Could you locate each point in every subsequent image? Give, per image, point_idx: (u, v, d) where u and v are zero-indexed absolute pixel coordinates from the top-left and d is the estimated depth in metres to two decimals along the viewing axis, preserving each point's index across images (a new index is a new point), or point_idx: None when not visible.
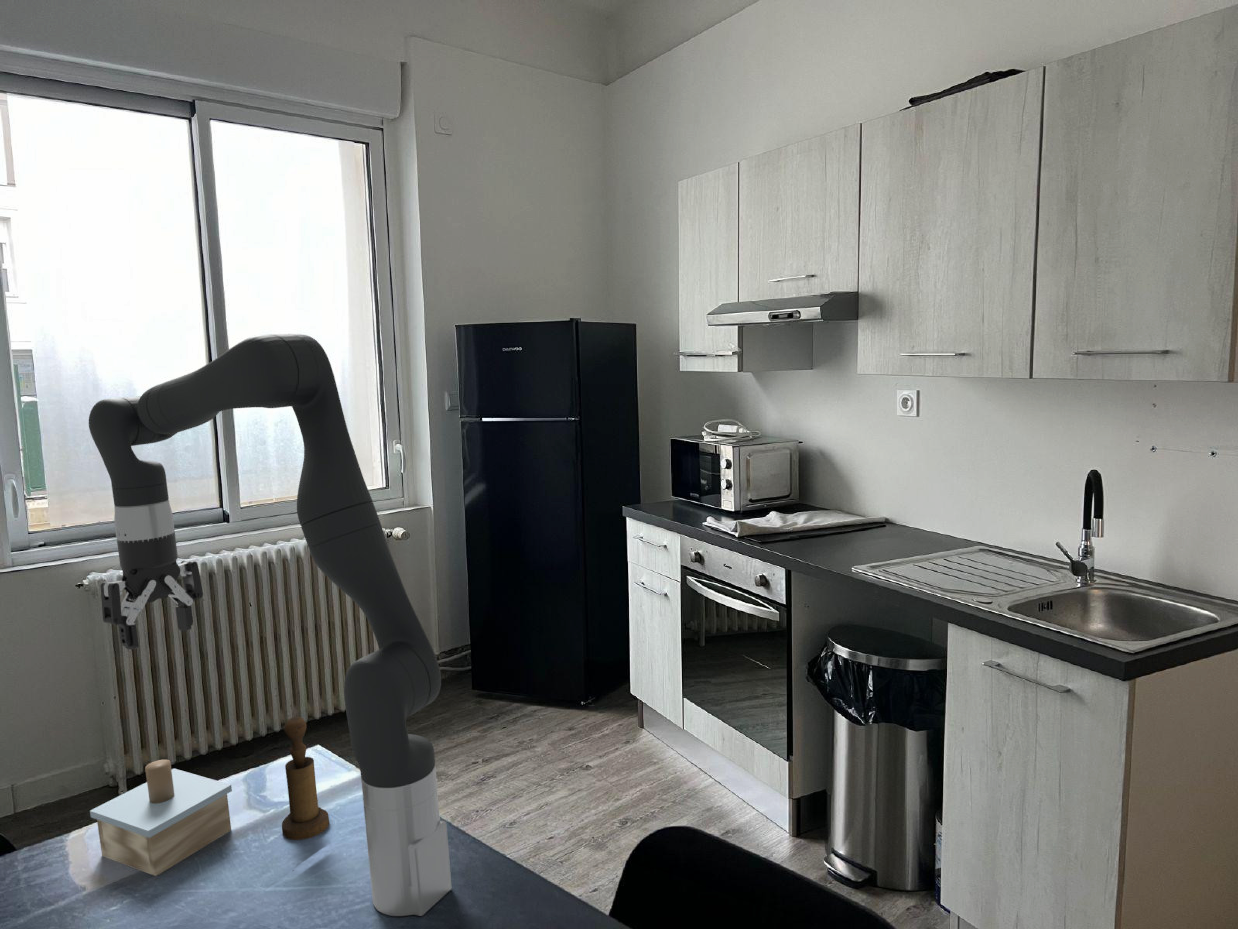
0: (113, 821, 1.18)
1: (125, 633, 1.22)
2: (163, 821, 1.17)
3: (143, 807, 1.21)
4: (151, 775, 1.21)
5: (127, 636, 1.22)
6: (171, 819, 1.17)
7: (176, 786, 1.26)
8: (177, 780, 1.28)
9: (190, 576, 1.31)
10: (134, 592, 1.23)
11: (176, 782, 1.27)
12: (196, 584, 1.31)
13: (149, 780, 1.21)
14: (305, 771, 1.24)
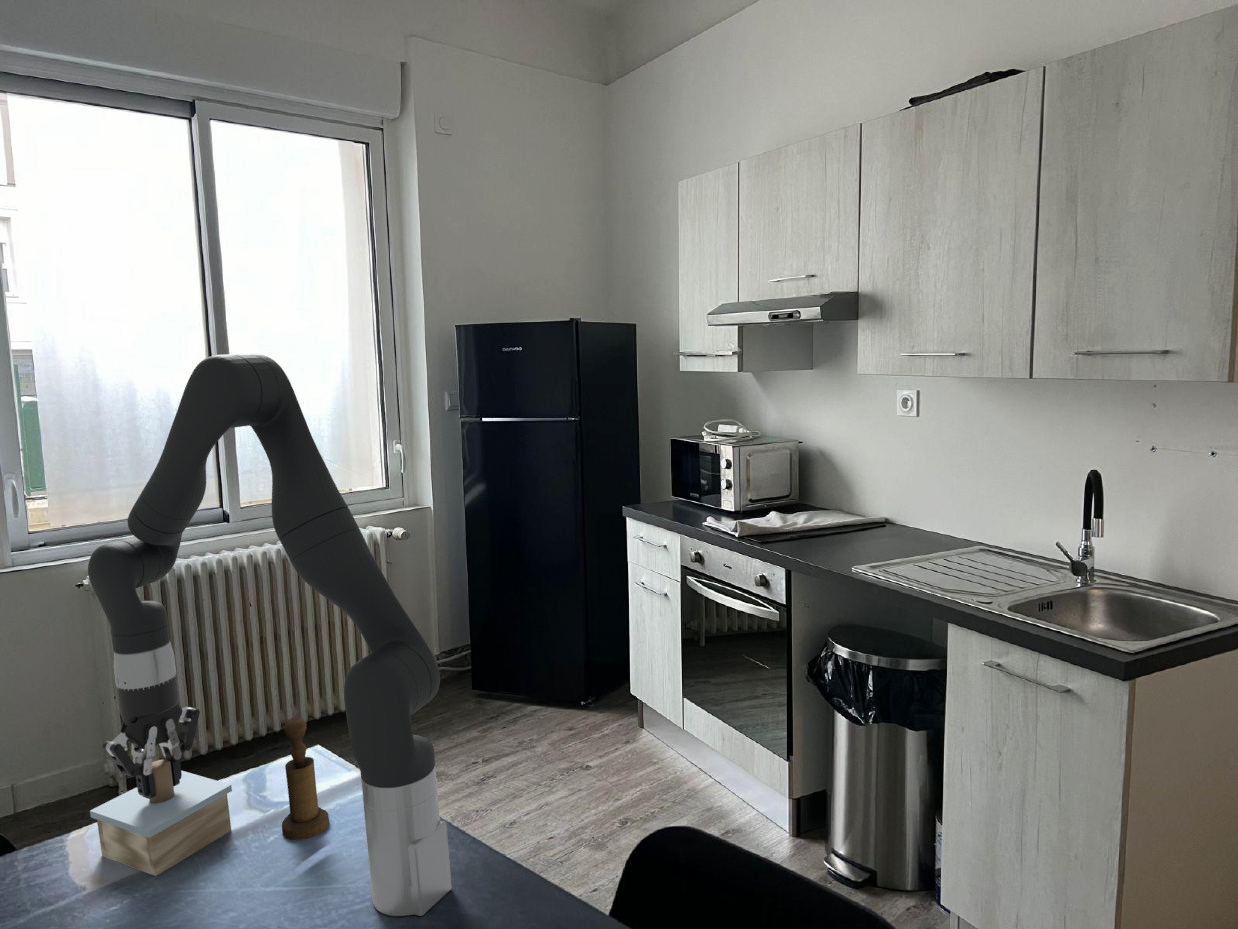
0: (113, 821, 1.18)
1: (142, 783, 1.20)
2: (163, 821, 1.17)
3: (143, 807, 1.21)
4: None
5: (144, 786, 1.20)
6: (171, 819, 1.17)
7: (176, 786, 1.26)
8: None
9: (187, 724, 1.26)
10: (139, 745, 1.19)
11: None
12: (190, 734, 1.25)
13: None
14: (305, 771, 1.24)
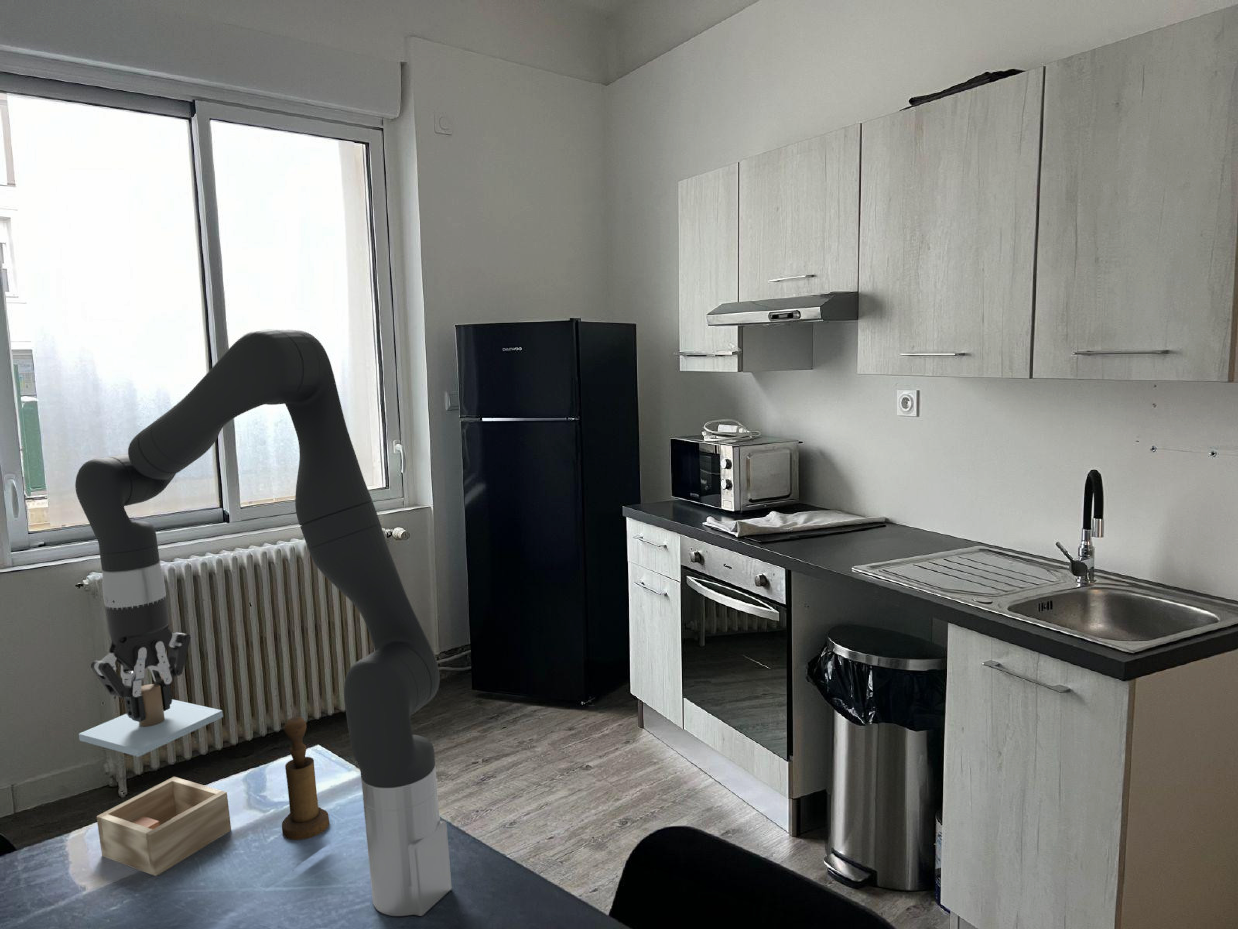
0: (102, 742, 1.16)
1: (132, 705, 1.18)
2: (152, 741, 1.15)
3: (133, 730, 1.19)
4: None
5: (134, 708, 1.18)
6: (161, 740, 1.16)
7: (166, 712, 1.24)
8: None
9: (178, 649, 1.24)
10: (128, 665, 1.17)
11: None
12: (180, 659, 1.24)
13: None
14: (305, 771, 1.24)
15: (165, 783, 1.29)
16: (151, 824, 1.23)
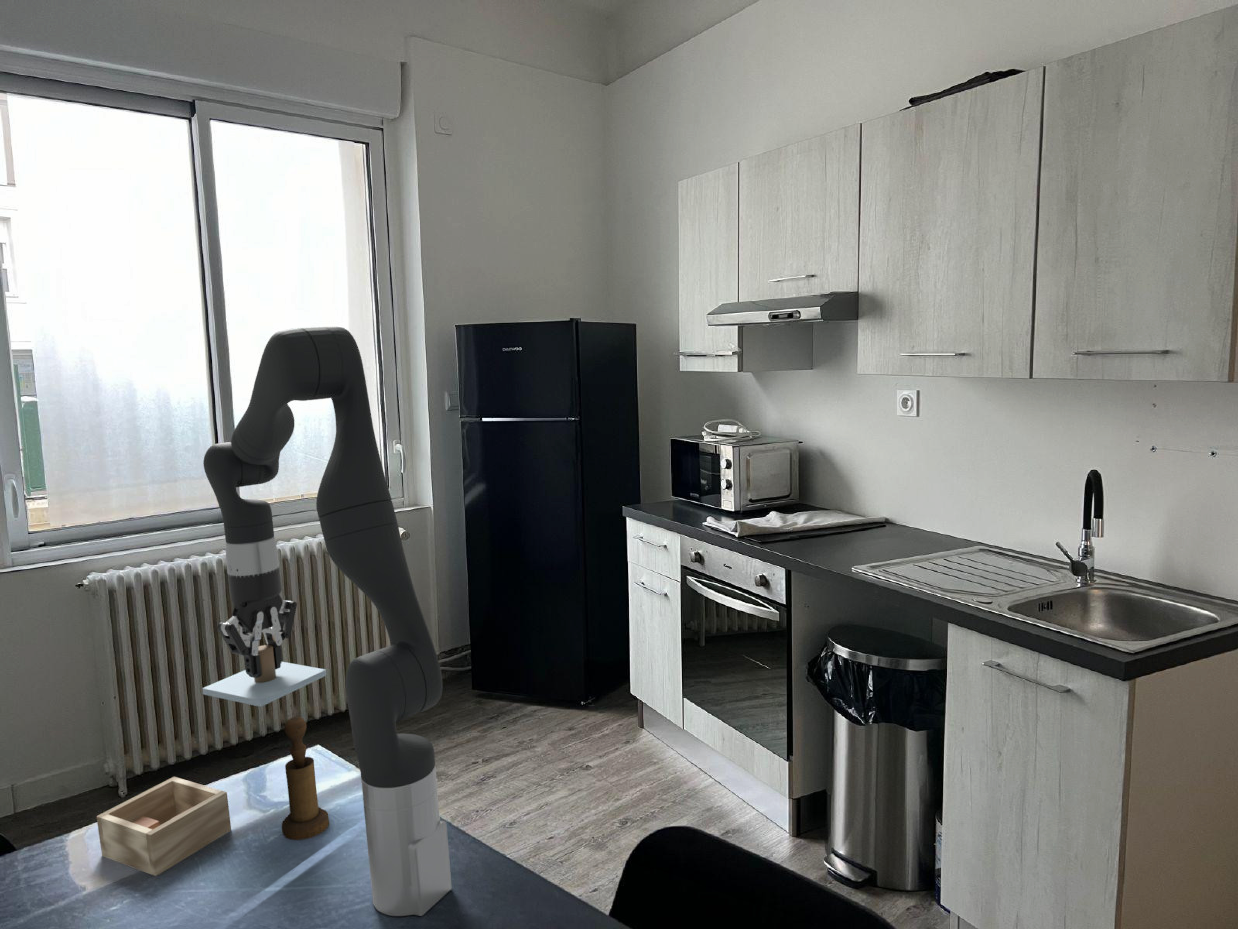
0: (225, 695, 1.31)
1: (250, 663, 1.33)
2: (271, 694, 1.30)
3: (250, 685, 1.34)
4: None
5: (252, 666, 1.33)
6: (278, 693, 1.31)
7: (276, 671, 1.39)
8: None
9: (286, 614, 1.39)
10: (248, 627, 1.32)
11: None
12: (289, 623, 1.39)
13: None
14: (305, 771, 1.24)
15: (165, 783, 1.29)
16: (151, 824, 1.23)
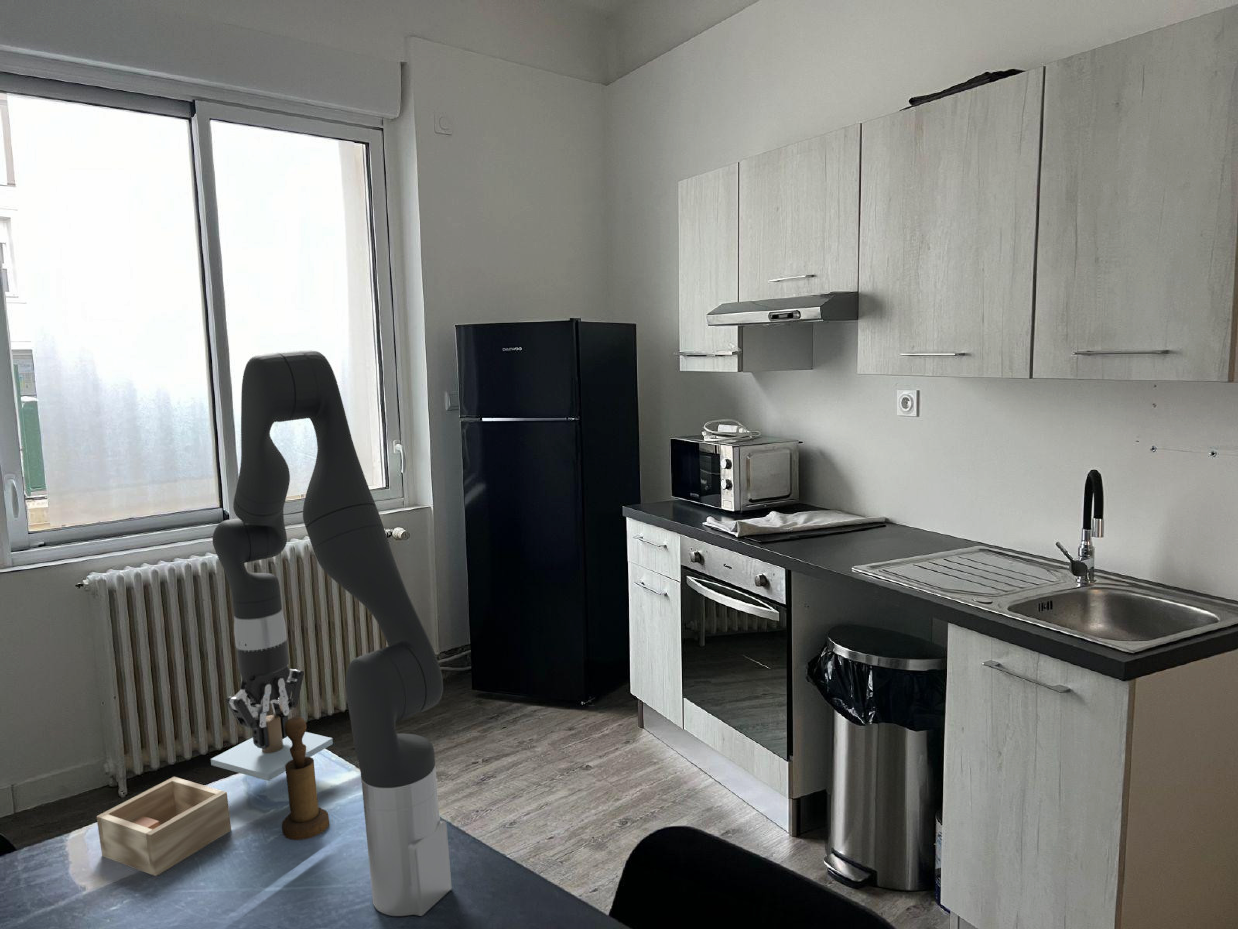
0: (233, 767, 1.33)
1: (258, 735, 1.35)
2: (279, 767, 1.32)
3: (258, 756, 1.35)
4: None
5: (260, 737, 1.35)
6: None
7: (283, 739, 1.41)
8: None
9: (294, 684, 1.41)
10: (256, 700, 1.34)
11: None
12: (296, 693, 1.40)
13: None
14: (305, 771, 1.24)
15: (165, 783, 1.29)
16: (151, 824, 1.23)
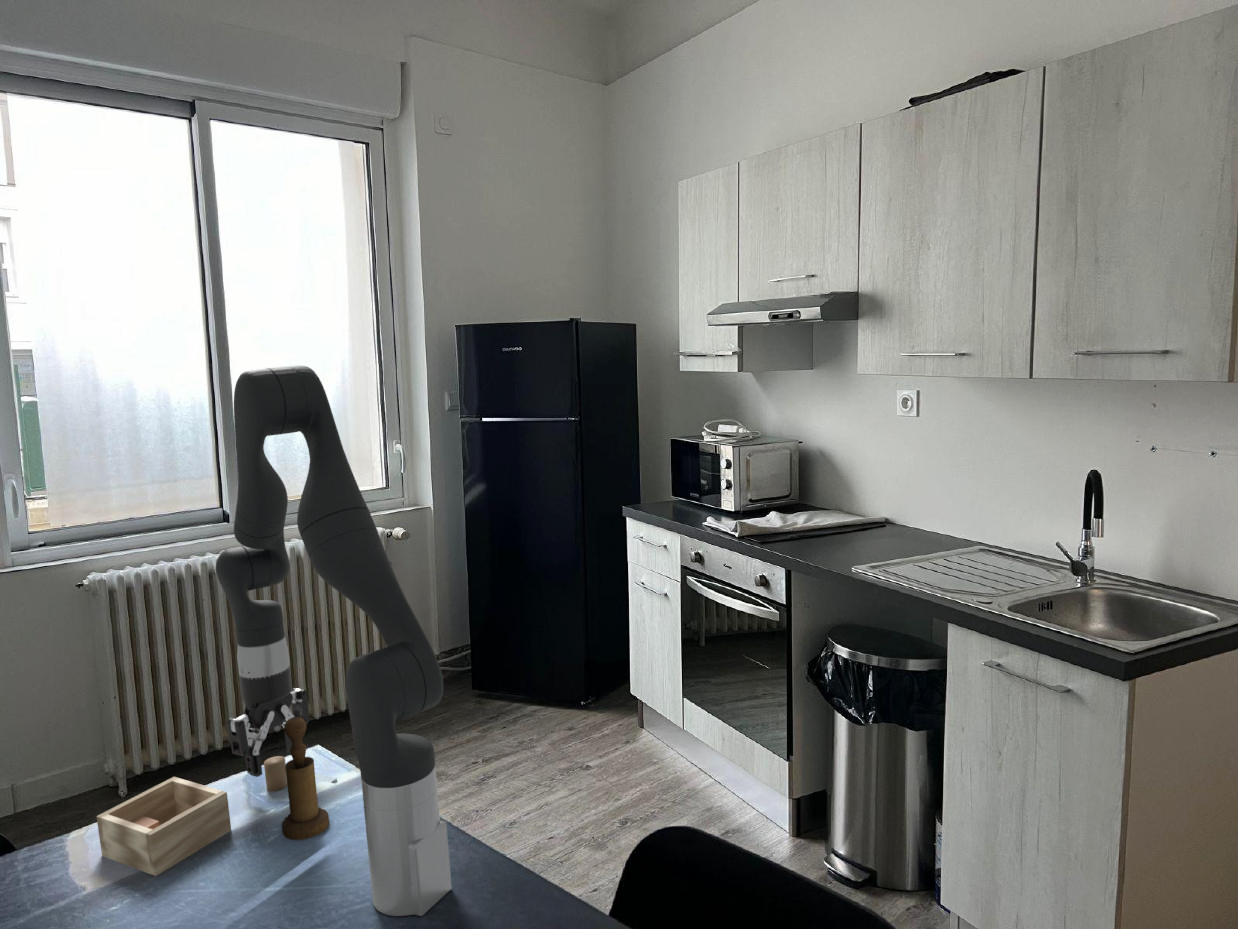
0: None
1: (251, 763, 1.34)
2: None
3: None
4: (270, 770, 1.37)
5: (253, 765, 1.34)
6: None
7: None
8: None
9: (300, 703, 1.42)
10: (256, 725, 1.34)
11: None
12: (304, 711, 1.42)
13: (267, 774, 1.37)
14: (305, 771, 1.24)
15: (165, 783, 1.29)
16: (151, 824, 1.23)
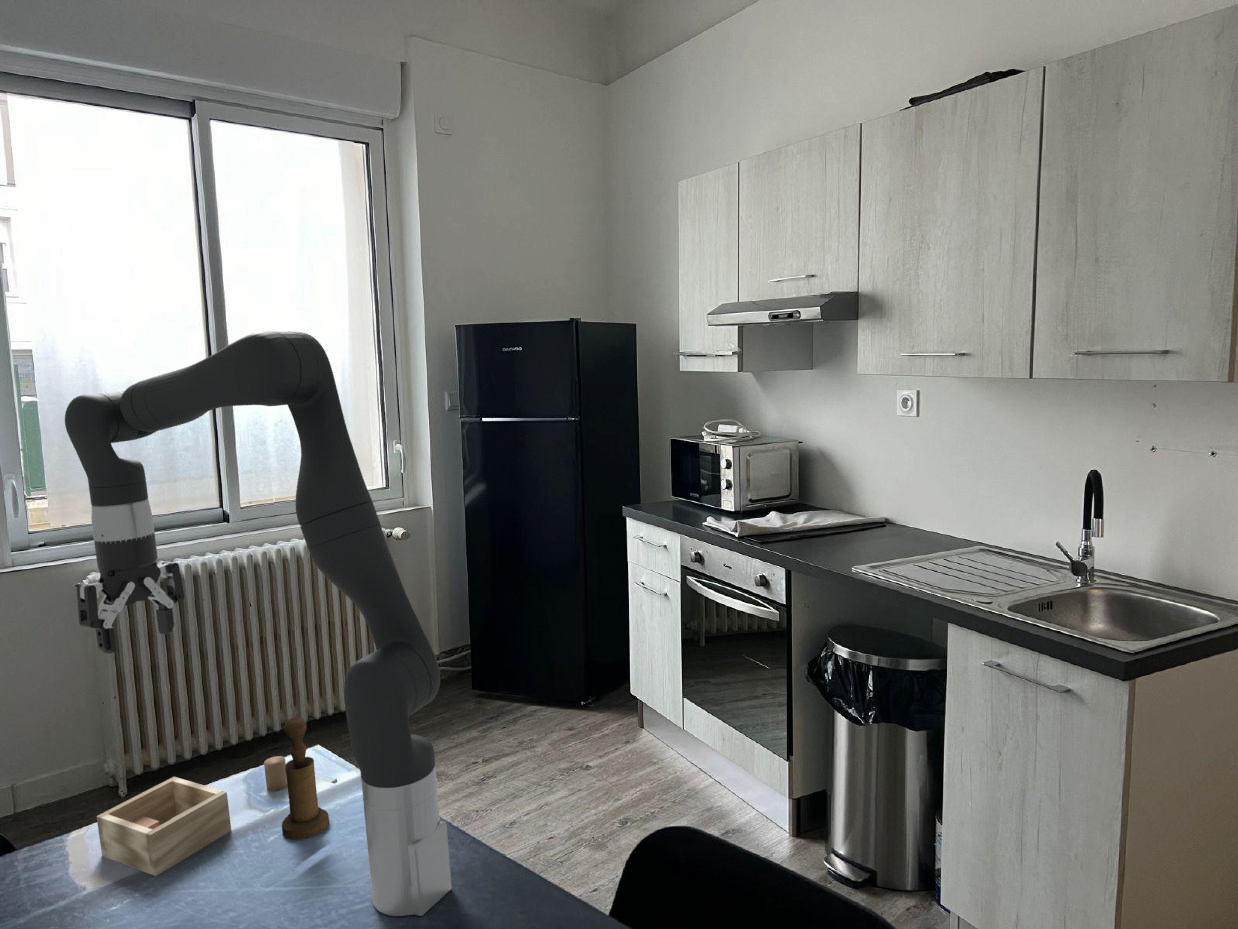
0: None
1: (102, 637, 1.18)
2: None
3: None
4: (270, 770, 1.37)
5: (104, 640, 1.18)
6: None
7: None
8: None
9: (171, 578, 1.27)
10: (112, 594, 1.19)
11: None
12: (177, 586, 1.28)
13: (267, 774, 1.37)
14: (305, 771, 1.24)
15: (165, 783, 1.29)
16: (151, 824, 1.23)
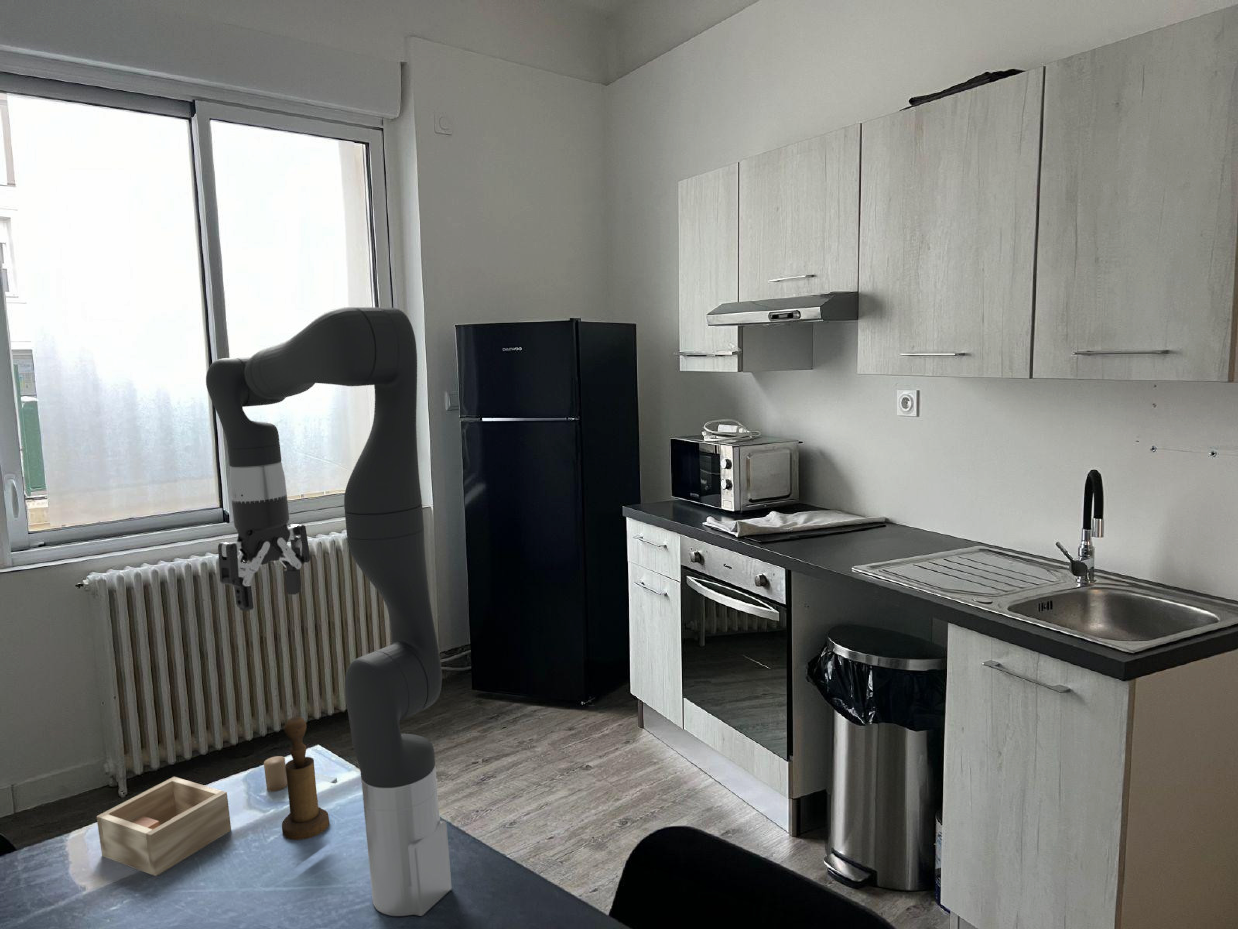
0: None
1: (241, 594, 1.22)
2: None
3: None
4: (270, 770, 1.37)
5: (243, 597, 1.22)
6: None
7: None
8: None
9: (298, 539, 1.31)
10: (249, 553, 1.23)
11: None
12: (304, 548, 1.31)
13: (267, 775, 1.37)
14: (305, 771, 1.24)
15: (165, 783, 1.29)
16: (151, 824, 1.23)
